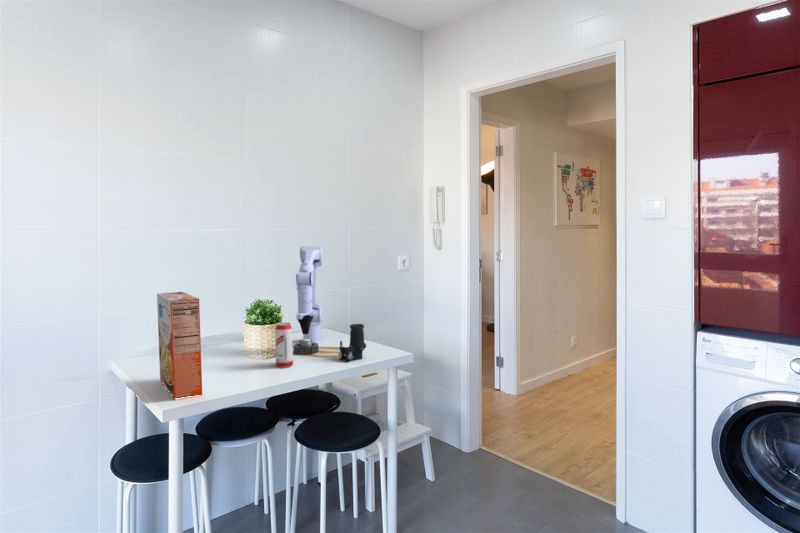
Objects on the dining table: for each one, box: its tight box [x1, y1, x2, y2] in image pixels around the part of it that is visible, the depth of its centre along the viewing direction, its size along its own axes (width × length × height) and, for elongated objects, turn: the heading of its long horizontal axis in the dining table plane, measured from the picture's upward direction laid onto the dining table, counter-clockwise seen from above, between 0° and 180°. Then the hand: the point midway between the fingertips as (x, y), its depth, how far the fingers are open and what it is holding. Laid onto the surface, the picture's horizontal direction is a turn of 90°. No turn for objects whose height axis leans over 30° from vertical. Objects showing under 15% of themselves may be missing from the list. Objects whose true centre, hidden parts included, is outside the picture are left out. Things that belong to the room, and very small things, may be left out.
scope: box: [339, 323, 367, 363], centre depth 195 cm, size 8×14×10 cm
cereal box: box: [156, 291, 203, 399], centre depth 161 cm, size 23×8×30 cm, turn 35°
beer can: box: [274, 322, 294, 369], centre depth 188 cm, size 6×6×16 cm
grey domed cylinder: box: [299, 339, 312, 347], centre depth 207 cm, size 5×5×5 cm
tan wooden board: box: [293, 345, 341, 359], centre depth 208 cm, size 18×24×1 cm
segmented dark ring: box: [293, 342, 319, 355], centre depth 207 cm, size 10×10×3 cm
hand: (305, 333), depth 207 cm, fingers closed
